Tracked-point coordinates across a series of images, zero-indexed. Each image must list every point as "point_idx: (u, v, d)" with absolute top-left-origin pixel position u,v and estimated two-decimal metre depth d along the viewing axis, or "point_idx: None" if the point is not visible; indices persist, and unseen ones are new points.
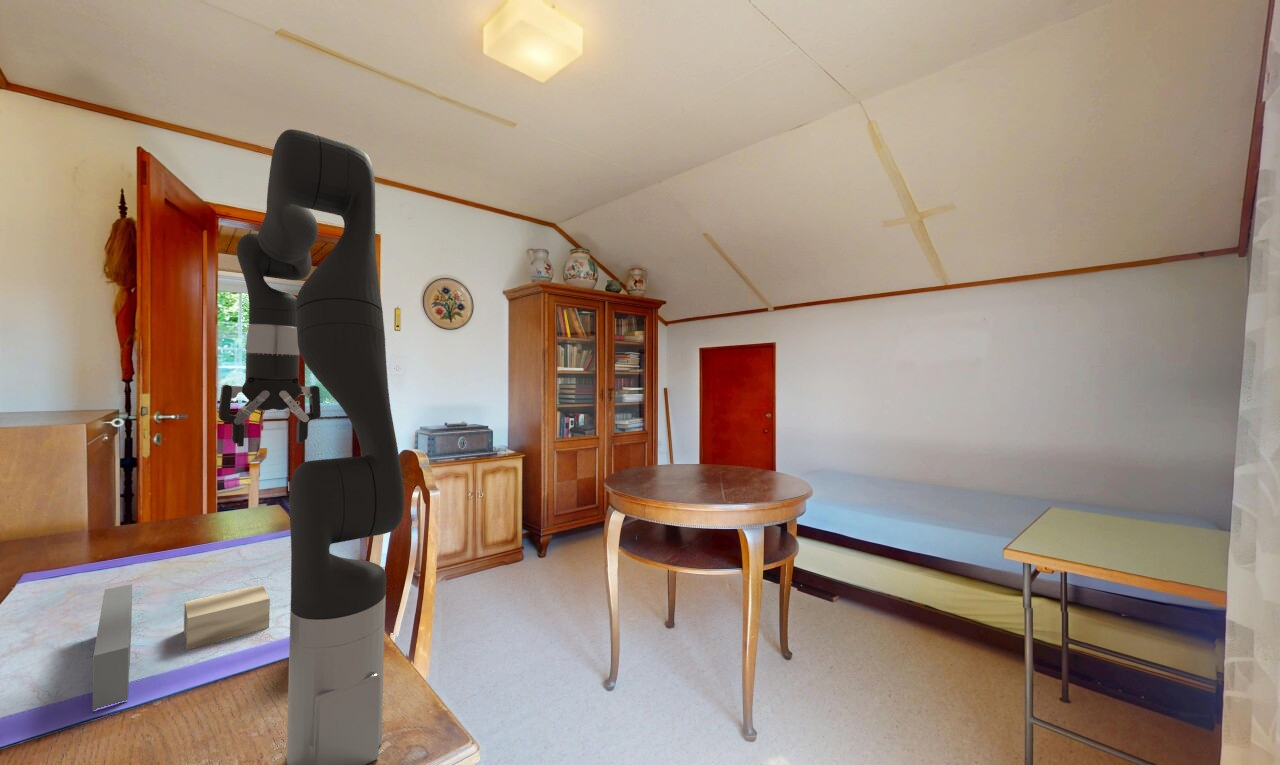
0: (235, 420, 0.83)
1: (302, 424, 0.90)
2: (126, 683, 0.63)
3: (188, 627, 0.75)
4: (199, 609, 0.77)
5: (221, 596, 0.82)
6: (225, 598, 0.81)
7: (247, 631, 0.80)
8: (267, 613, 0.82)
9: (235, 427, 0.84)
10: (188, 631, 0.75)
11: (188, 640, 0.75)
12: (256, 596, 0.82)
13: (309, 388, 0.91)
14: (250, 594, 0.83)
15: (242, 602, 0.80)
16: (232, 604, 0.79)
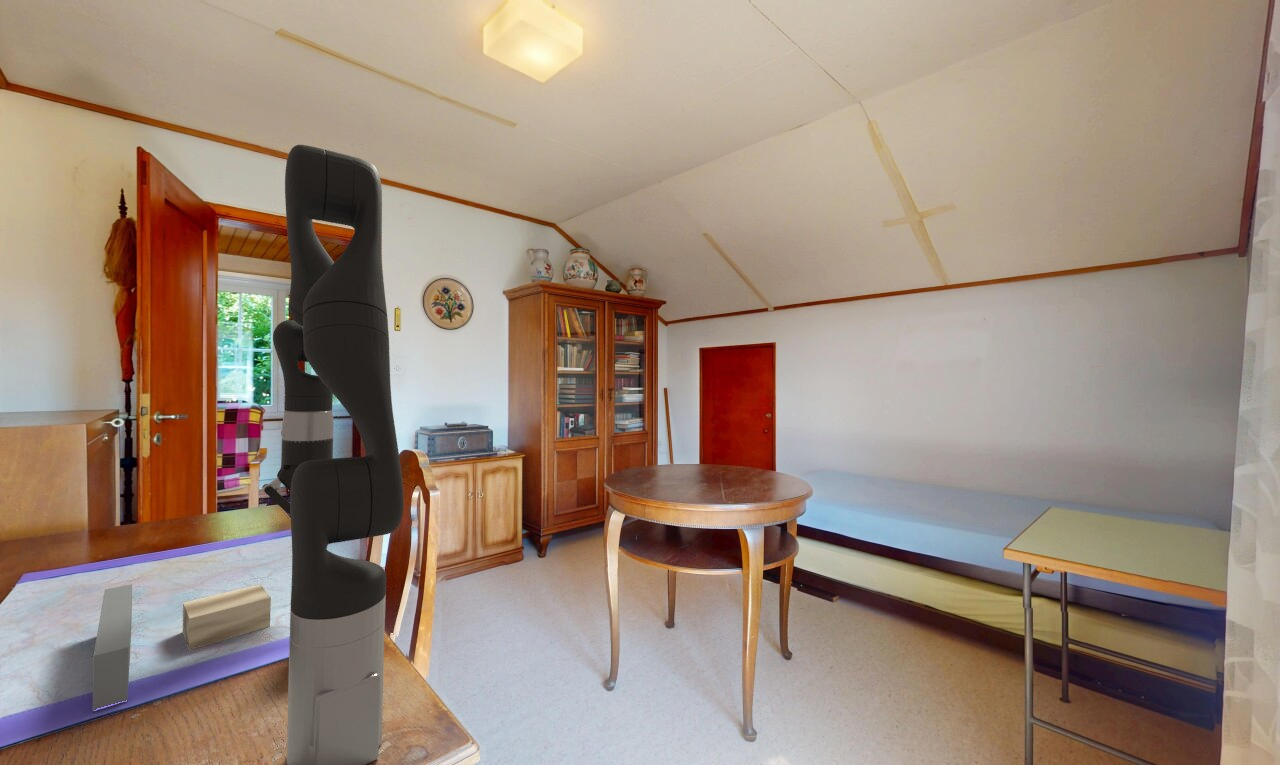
0: None
1: None
2: (126, 683, 0.63)
3: (190, 627, 0.75)
4: (200, 610, 0.77)
5: (220, 596, 0.82)
6: (225, 598, 0.81)
7: (248, 630, 0.80)
8: (268, 612, 0.82)
9: None
10: (190, 631, 0.75)
11: (190, 640, 0.75)
12: (257, 596, 0.83)
13: None
14: (250, 594, 0.83)
15: (243, 601, 0.81)
16: (232, 604, 0.80)
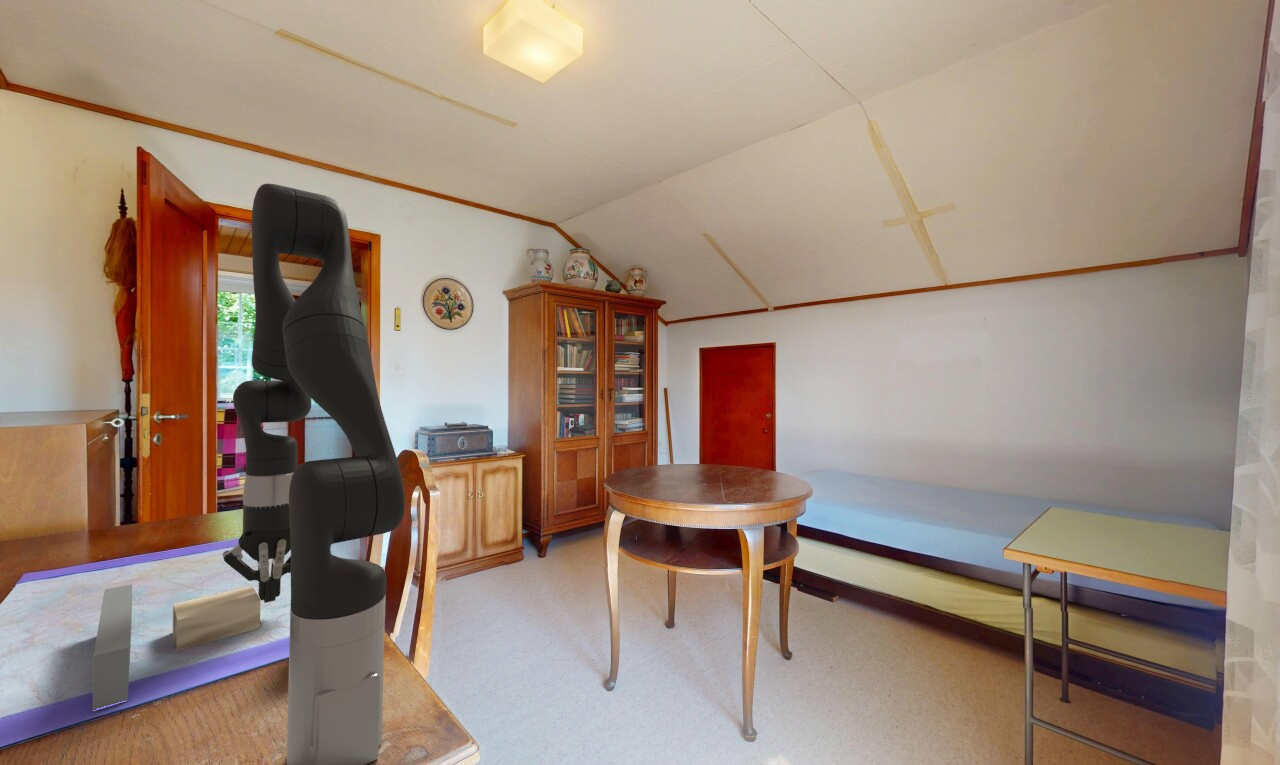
0: (262, 578, 0.83)
1: (274, 581, 0.84)
2: (126, 683, 0.63)
3: (178, 629, 0.75)
4: (189, 611, 0.77)
5: (210, 598, 0.82)
6: (215, 600, 0.81)
7: (237, 632, 0.80)
8: (258, 614, 0.82)
9: (262, 584, 0.83)
10: (178, 633, 0.75)
11: (178, 642, 0.75)
12: (247, 598, 0.82)
13: None
14: (240, 596, 0.83)
15: (232, 603, 0.80)
16: (222, 606, 0.79)
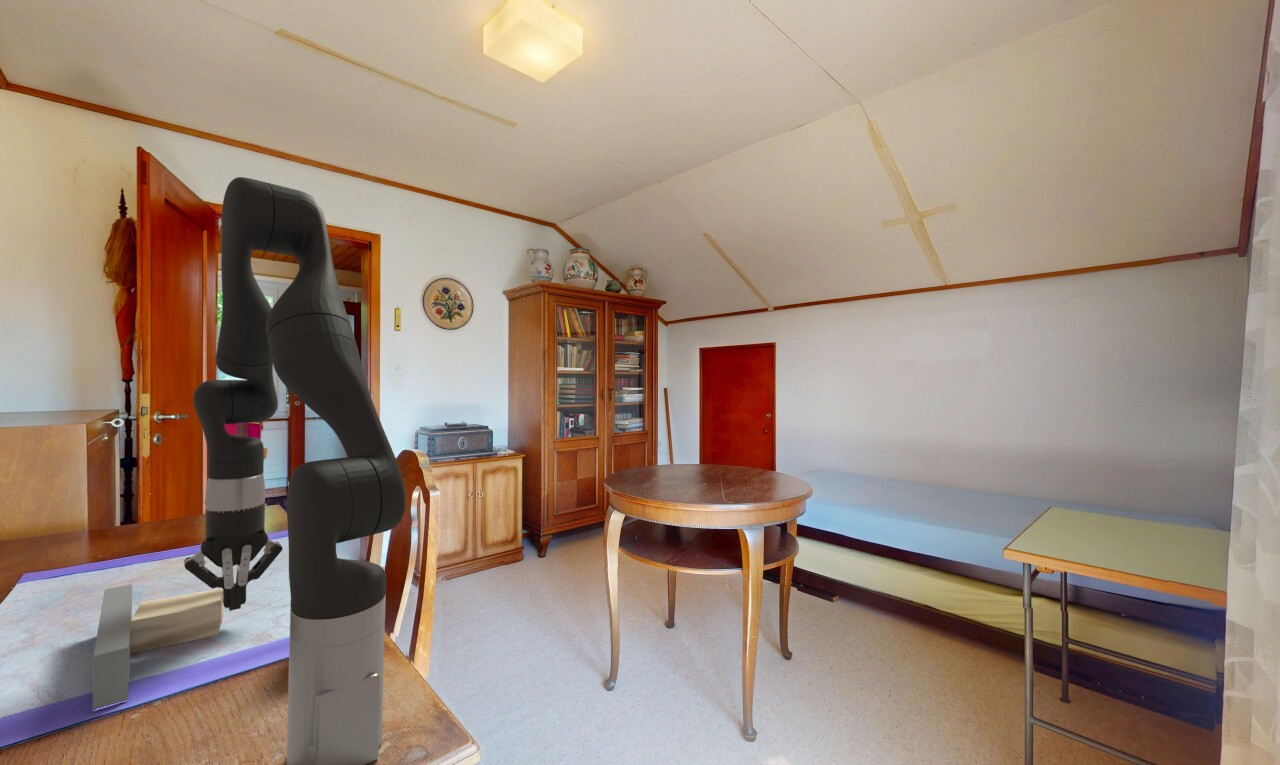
0: (226, 585, 0.80)
1: (239, 588, 0.81)
2: (126, 683, 0.63)
3: (131, 630, 0.74)
4: (148, 612, 0.76)
5: (178, 598, 0.81)
6: (179, 601, 0.80)
7: (195, 637, 0.78)
8: (216, 620, 0.79)
9: (226, 591, 0.80)
10: (131, 634, 0.74)
11: (131, 643, 0.74)
12: (209, 601, 0.80)
13: (273, 545, 0.85)
14: (204, 599, 0.81)
15: (191, 606, 0.78)
16: (180, 608, 0.78)
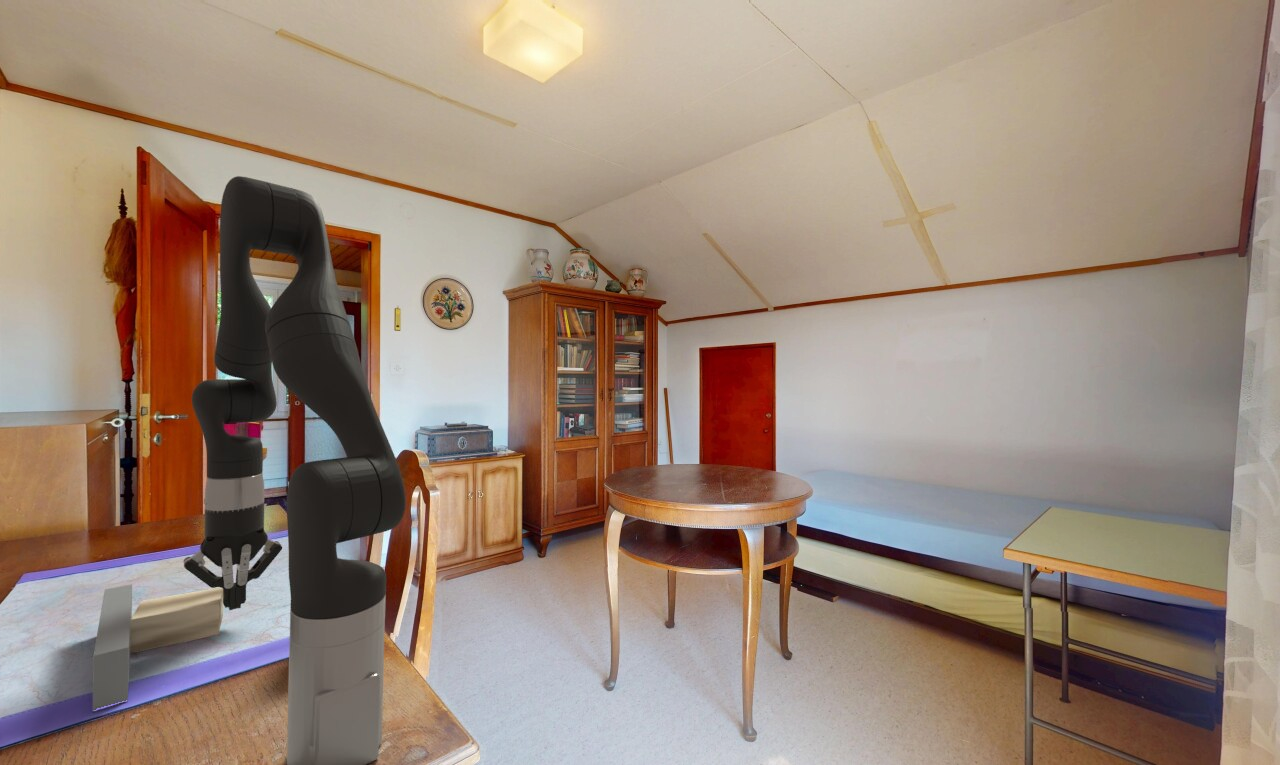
0: (226, 584, 0.80)
1: (239, 588, 0.81)
2: (126, 683, 0.63)
3: (131, 629, 0.74)
4: (148, 611, 0.76)
5: (177, 597, 0.81)
6: (179, 600, 0.80)
7: (195, 636, 0.78)
8: (216, 618, 0.79)
9: (226, 591, 0.80)
10: (131, 633, 0.74)
11: (131, 642, 0.74)
12: (208, 600, 0.80)
13: (273, 544, 0.85)
14: (204, 597, 0.81)
15: (191, 605, 0.78)
16: (180, 607, 0.78)
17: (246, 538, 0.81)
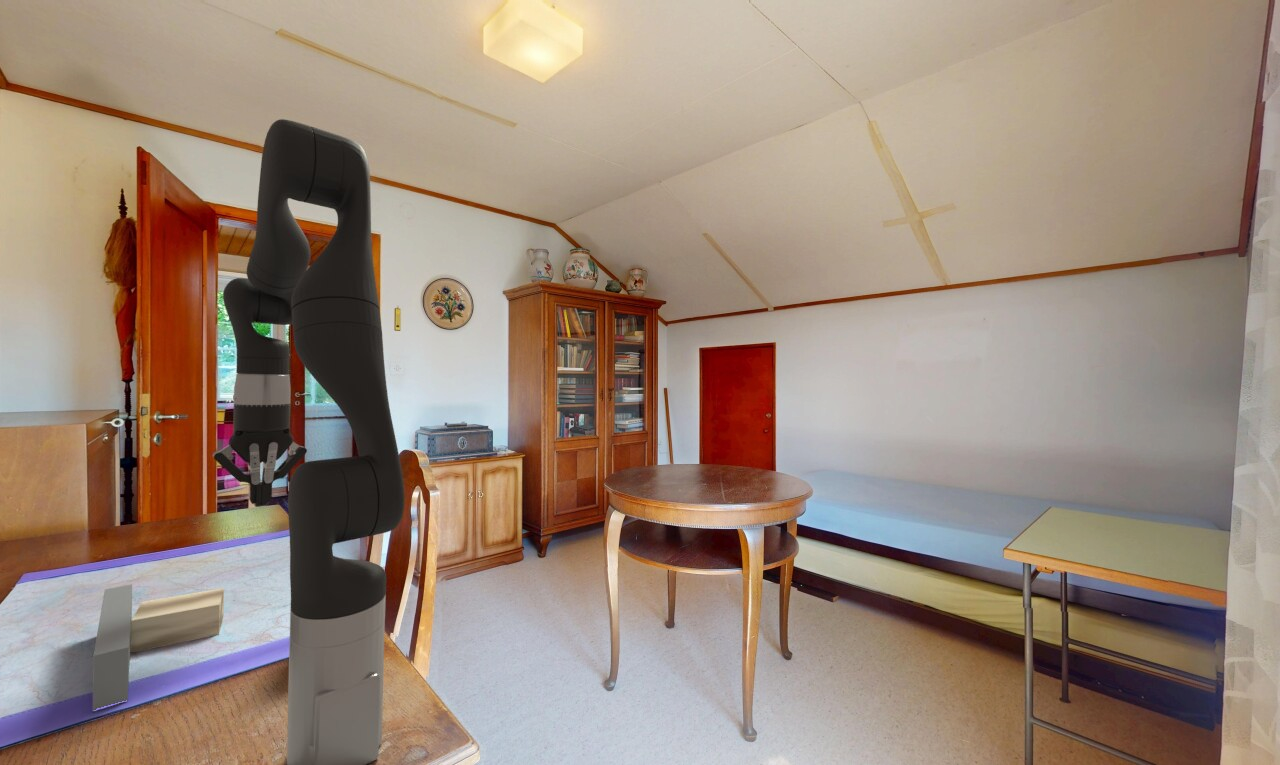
0: (253, 480, 0.82)
1: (265, 485, 0.83)
2: (126, 683, 0.63)
3: (132, 630, 0.74)
4: (148, 612, 0.76)
5: (178, 598, 0.81)
6: (180, 601, 0.80)
7: (195, 637, 0.78)
8: (217, 619, 0.79)
9: (253, 487, 0.82)
10: (132, 634, 0.74)
11: (132, 643, 0.74)
12: (209, 601, 0.80)
13: (298, 447, 0.86)
14: (205, 598, 0.81)
15: (192, 606, 0.78)
16: (181, 608, 0.78)
17: (273, 437, 0.83)
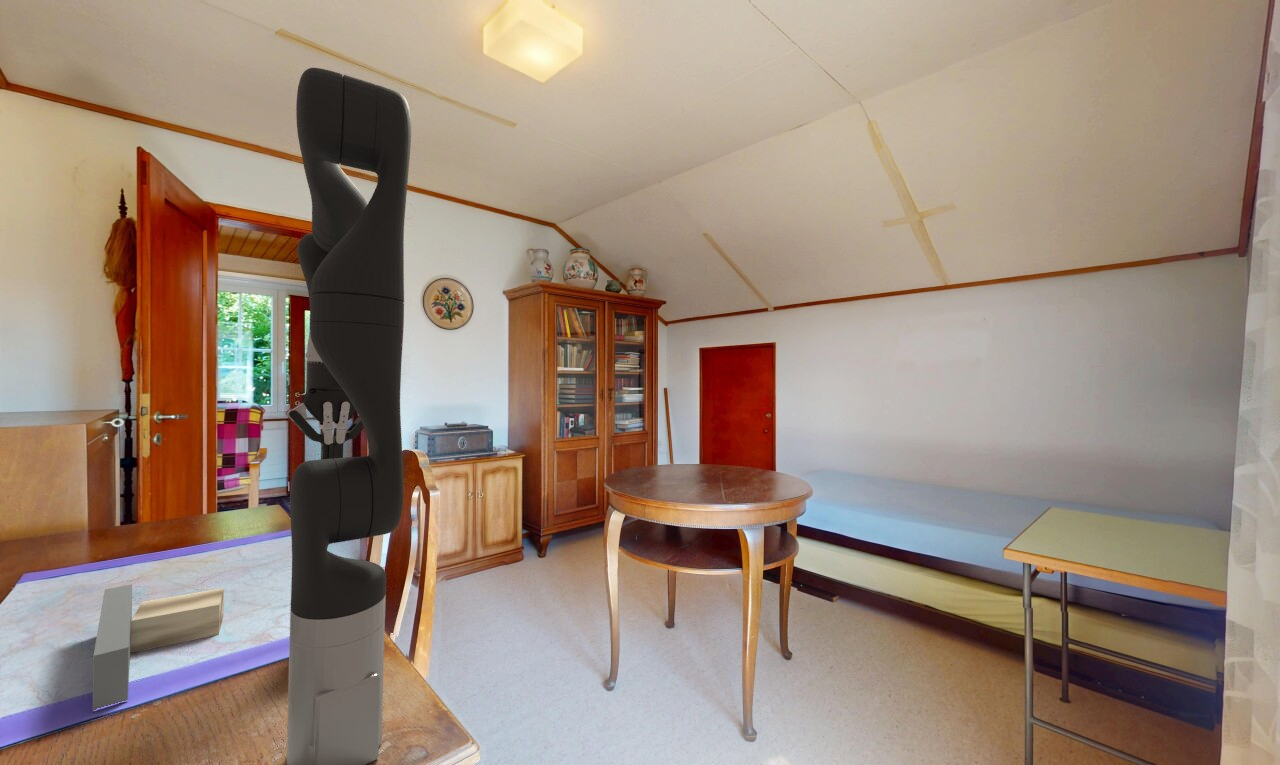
0: (325, 440, 0.80)
1: (337, 446, 0.81)
2: (126, 683, 0.63)
3: (131, 630, 0.74)
4: (148, 612, 0.76)
5: (178, 598, 0.81)
6: (180, 601, 0.80)
7: (195, 637, 0.78)
8: (216, 619, 0.79)
9: (325, 447, 0.80)
10: (131, 634, 0.74)
11: (132, 643, 0.74)
12: (209, 601, 0.80)
13: None
14: (205, 598, 0.81)
15: (191, 606, 0.78)
16: (180, 608, 0.78)
17: (344, 397, 0.82)
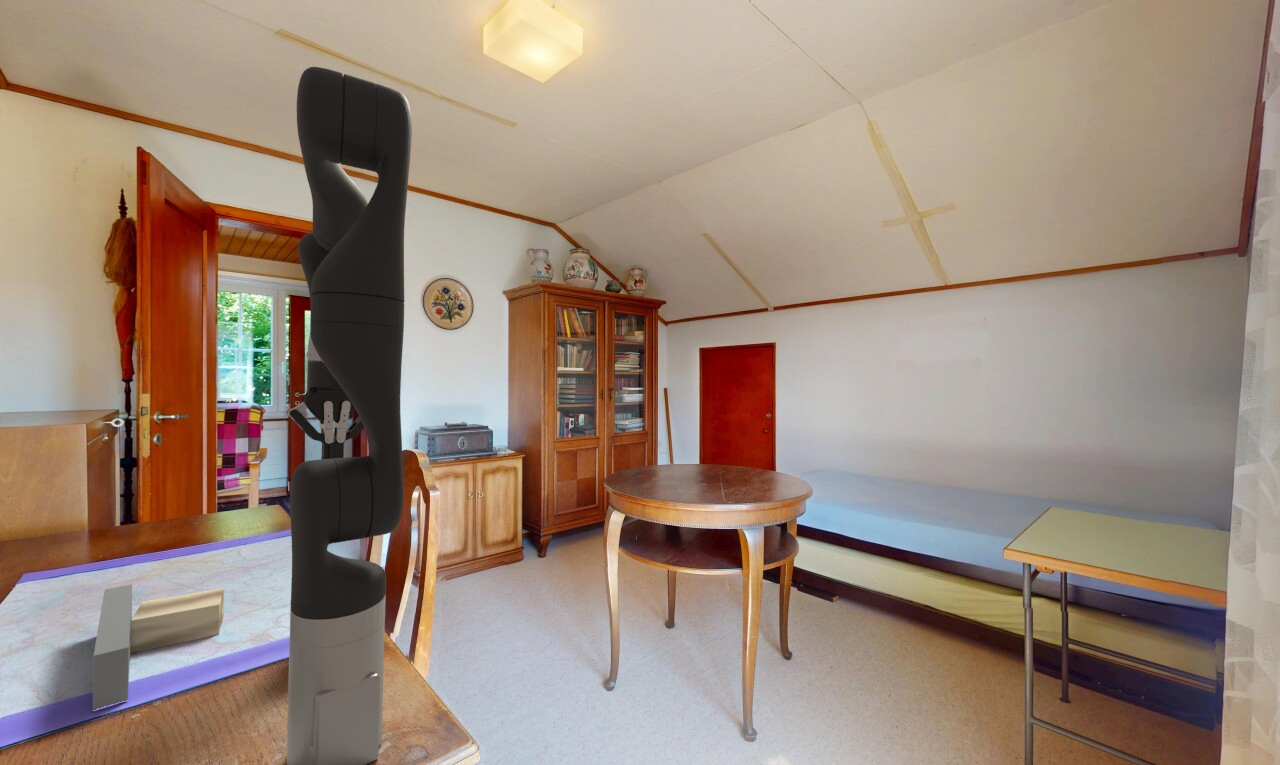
0: (326, 439, 0.80)
1: (338, 445, 0.81)
2: (126, 683, 0.63)
3: (131, 630, 0.74)
4: (148, 612, 0.76)
5: (178, 598, 0.81)
6: (180, 601, 0.80)
7: (195, 637, 0.78)
8: (216, 619, 0.79)
9: (326, 446, 0.80)
10: (131, 634, 0.74)
11: (131, 643, 0.74)
12: (209, 601, 0.80)
13: None
14: (205, 598, 0.81)
15: (191, 606, 0.78)
16: (180, 608, 0.78)
17: (345, 396, 0.82)
